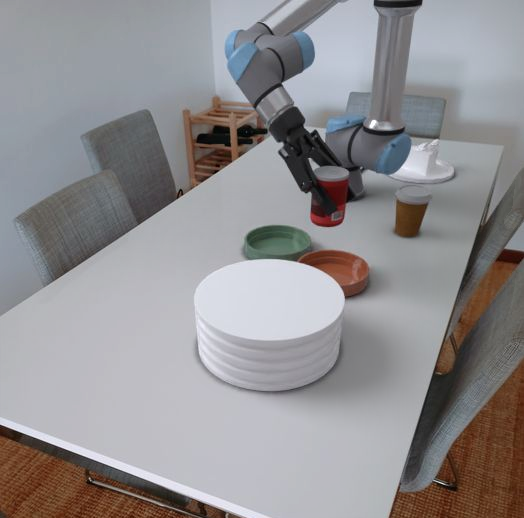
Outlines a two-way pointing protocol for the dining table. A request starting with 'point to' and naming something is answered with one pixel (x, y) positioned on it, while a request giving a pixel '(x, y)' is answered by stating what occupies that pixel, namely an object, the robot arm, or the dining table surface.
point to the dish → (424, 165)
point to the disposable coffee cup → (411, 209)
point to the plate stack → (269, 323)
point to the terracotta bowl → (340, 268)
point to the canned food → (336, 188)
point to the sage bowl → (277, 243)
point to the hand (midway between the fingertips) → (342, 206)
